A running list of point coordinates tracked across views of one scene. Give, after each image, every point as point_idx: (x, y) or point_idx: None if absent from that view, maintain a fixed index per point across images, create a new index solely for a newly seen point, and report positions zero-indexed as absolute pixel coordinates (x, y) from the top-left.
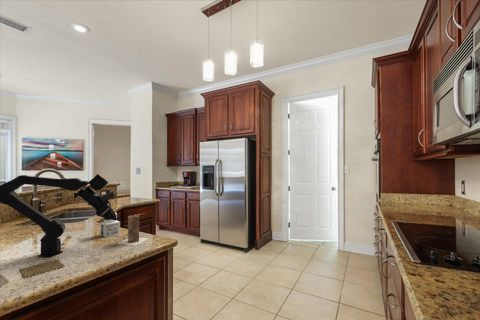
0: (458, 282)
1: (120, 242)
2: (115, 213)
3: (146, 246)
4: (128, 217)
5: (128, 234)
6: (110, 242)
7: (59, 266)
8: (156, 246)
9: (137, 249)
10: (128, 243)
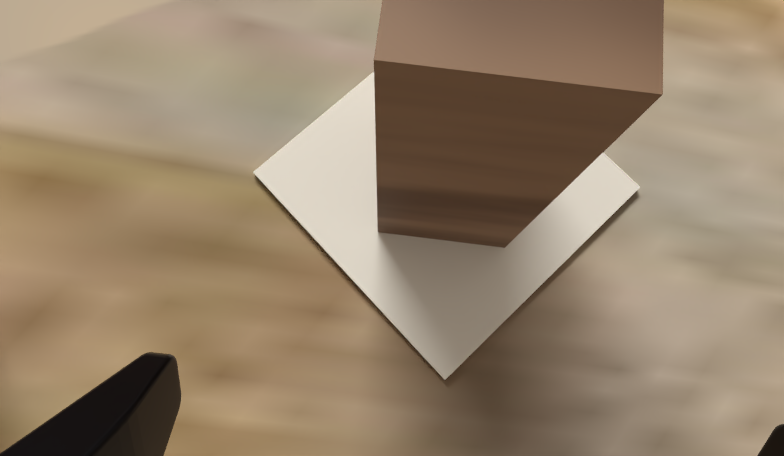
0: None
1: (411, 328)
2: (97, 403)
3: (723, 102)
4: (502, 86)
5: (506, 217)
6: (290, 441)
7: None
8: (779, 20)
9: (777, 204)
10: (517, 249)
